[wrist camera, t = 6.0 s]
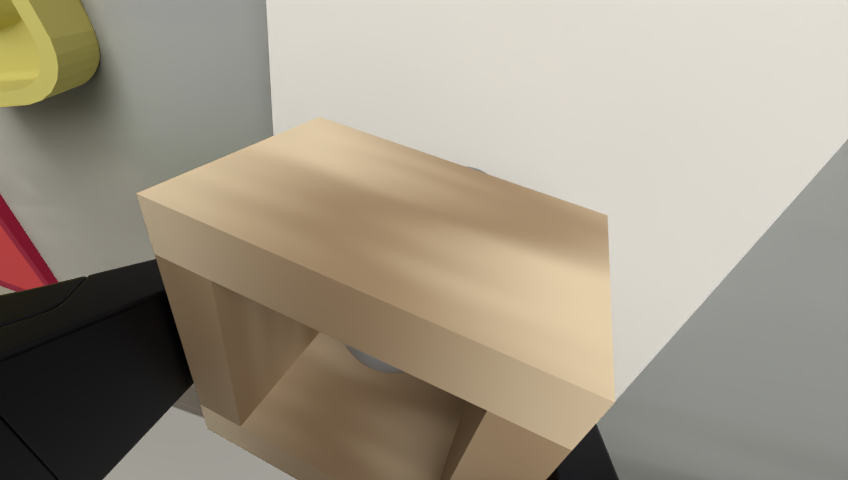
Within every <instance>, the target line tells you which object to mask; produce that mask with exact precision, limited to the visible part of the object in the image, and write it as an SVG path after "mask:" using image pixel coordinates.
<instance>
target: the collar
mask: <svg viewBox="0 0 848 480" xmlns="http://www.w3.org/2000/svg"><path fill="white" fill-rule="evenodd" d="M136 194H137V198H138V201H139V204H140V208H141V211H142V214H143V217H144V221H145V224H146V227H147V231H148V234H149V237H150V240H151V244H152V247H153V250H154V254H155V257H156V260H157V264H158V267H159V270H160V273H161V277H162V280H163V283H164V287H165V290H166V293H167V296H168V300H169V303H170V306H171V310H172V313H173V316H174V319H175V323H176V326H177V329H178V333H179V336H180V339H181V342H182V346H183V349H184V352H185V356H186V359H187V362H188V365H189V369H190V372H191V375H192V379H193V382H194V385H195V389H196V392H197V395H198V398H199V402H200V405H201V408H202V412H203V415H204V418H205V421H206V425H207V428H208V429H209V430H211V431H213V432H214V433H216V434H218V435H220V436H221V437H223V438H225V439H227V440H229V441H230V442H232V443H234V444H236V445H237V446H239V447H241V448H243V449H244V450H246V451H248V452H250V453H251V454H253V455H255V456H257V457H258V458H260V459H262V460H264V461H266V462H267V463H269V464H271V465H273V466H275V467H276V468H278V469H280V470H282V471H283V472H285V473H287V474H288V475H290V476H292V477H294V478H295V479H297V480H546V479H547V478H548V477H549V476H550V475H551V474H552V472H553V471H554V470H555V469H556V468H557V467H558V466H559V465H560V463H561V462H562V461H563V460H564V459H565V458H566V457H567V456H568V454H569V453H570V452H571V451H572V450H573V449H574V448H575V447H576V446H577V444H578V443H579V442H580V441H581V440H582V439H583V438H584V437H585V435H586V434H587V433H588V432H589V431H590V430H591V429H592V428H593V426H594V425H595V424H596V423H597V422H598V421H599V420H600V419H601V417H602V416H603V415H604V414H605V413H606V412H607V411H608V410H609V408H610V407H611V406H612V405H613V404H614V403H615V388H614V363H613V338H612V313H611V289H610V264H609V239H608V215H605V214H602V213H599V212H596V211H594V210H591V209H588V208H585V207H582V206H579V205H576V204H573V203H570V202H567V201H564V200H561V199H558V198H556V197H553V196H550V195H547V194H544V193H541V192H538V191H535V190H532V189H529V188H526V187H523V186H520V185H517V184H515V183H512V182H509V181H506V180H503V179H500V178H497V177H494V176H491V175H488V174H485V173H482V172H479V171H477V170H474V169H471V168H468V167H465V166H462V165H459V164H456V163H453V162H450V161H447V160H444V159H441V158H439V157H436V156H433V155H430V154H427V153H424V152H421V151H418V150H415V149H412V148H409V147H406V146H403V145H401V144H398V143H395V142H392V141H389V140H386V139H383V138H380V137H377V136H374V135H371V134H368V133H365V132H363V131H360V130H357V129H354V128H351V127H348V126H345V125H342V124H339V123H336V122H333V121H330V120H327V119H325V118H322V117H318V118H315V119H313V120H311V121H308V122H306V123H303V124H301V125H299V126H296V127H294V128H291V129H289V130H287V131H284V132H282V133H279V134H277V135H275V136H272V137H270V138H268V139H265V140H263V141H260V142H258V143H256V144H253V145H251V146H248V147H246V148H244V149H241V150H239V151H236V152H234V153H232V154H229V155H227V156H225V157H222V158H220V159H217V160H215V161H213V162H210V163H208V164H205V165H203V166H201V167H198V168H196V169H193V170H191V171H189V172H186V173H184V174H182V175H179V176H177V177H174V178H172V179H170V180H167V181H165V182H162V183H160V184H158V185H155V186H153V187H151V188H148V189H146V190H143V191H141V192H139V193H136ZM344 343H345V344H347V345H349V346H351V347H353V348H355V349H357V350H360V351H362V352H364V353H366V354H368V355H370V356H372V357H374V358H376V359H379V360H381V361H383V362H385V363H387V364H389V365H391V366H393V367H396V368H398V369H400V370H402V371H404V373H384V372H380V371H377V370H374V369H371V368H369V367H367V366H365V365H364V364H362V363H361V362H359V361H358V360H357V359H356V358H355V357H354V356H353V355H352V354H351V353H350V352H349V350H348V349H347V348H346V346H345V344H344Z"/></svg>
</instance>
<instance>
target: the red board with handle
mask: <svg viewBox="0 0 848 480" xmlns="http://www.w3.org/2000/svg"><path fill="white" fill-rule="evenodd" d="M54 283H58V281H57V280H56V278H55V276H54V275H53V273H52V272H51V270H50V269H49V267H48V266H47V264H46V263H45V261H44V260H43V258H42V257H41V255H40V254H39V252H38V251H37V249H36V248H35V246H34V245H33V243H32V242H31V240H30V239H29V237H28V236H27V234H26V232H25V231H24V229H23V228H22V226H21V225H20V223H19V222H18V220H17V219H16V217H15V216H14V214H13V213H12V211H11V210H10V208H9V207H8V205H7V204H6V202H5V201H4V199H3V198H2V196H1V195H0V286H3V287H5V288H8V289H11V290H14V291H16V292H19V291H24V290H28V289H32V288H37V287H41V286H45V285H50V284H54Z"/></svg>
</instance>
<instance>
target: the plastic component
mask: <svg viewBox="0 0 848 480" xmlns="http://www.w3.org/2000/svg"><path fill="white" fill-rule="evenodd" d="M99 60H100V51H99V45H98V41H97V37H96V34H95V31H94V29H93V26H92V24H91V22H90V20H89V18H88V15H87V13H86V11H85V9H84V7H83V5H82V3H81V1H80V0H0V107H8V106H21V105H30V104H33V103H36V102H39V101H42V100H44V99H47V98H49V97H52V96H54V95H57V94H60V93H62V92H65V91H67V90H70V89H73V88H75V87H78V86H80V85H83V84H84V83H86V82H87V81H88V80H89V79H90V78H91V77H92V76H93V75H94V73H95V72H96V69H97V67H98V65H99Z"/></svg>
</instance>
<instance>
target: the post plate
mask: <svg viewBox="0 0 848 480" xmlns="http://www.w3.org/2000/svg"><path fill="white" fill-rule="evenodd" d="M266 6H267V24H268V43H269V61H270V80H271V99H272V117H273V136H275V135H277V134H279V133H282V132H284V131H287V130H289V129H291V128H294V127H296V126H299V125H301V124H303V123H306V122H308V121H311V120H313V119H315V118H318V117H322V118H325V119H327V120H330V121H333V122H336V123H339V124H342V125H345V126H348V127H351V128H354V129H357V130H360V131H363V132H365V133H368V134H371V135H374V136H377V137H380V138H383V139H386V140H389V141H392V142H395V143H398V144H401V145H403V146H406V147H409V148H412V149H415V150H418V151H421V152H424V153H427V154H430V155H433V156H436V157H439V158H441V159H444V160H447V161H450V162H453V163H456V164H459V165H462V166H465V167H468V168H471V169H474V170H477V171H479V172H482V173H485V174H488V175H491V176H494V177H497V178H500V179H503V180H506V181H509V182H512V183H515V184H517V185H520V186H523V187H526V188H529V189H532V190H535V191H538V192H541V193H544V194H547V195H550V196H553V197H556V198H558V199H561V200H564V201H567V202H570V203H573V204H576V205H579V206H582V207H585V208H588V209H591V210H594V211H596V212H599V213H602V214H605V215H608V239H609V264H610V289H611V313H612V338H613V363H614V388H615V401H616V400H617V399H618V397H619V396H620V395H621V394H622V393H623V392H624V391H625V390H626V388H627V387H628V386H629V385H630V384H631V383H632V382H633V381H634V379H635V378H636V377H637V376H638V375H639V374H640V373H641V371H642V370H643V369H644V368H645V367H646V366H647V365H648V364H649V362H650V361H651V360H652V359H653V358H654V357H655V356H656V355H657V353H658V352H659V351H660V350H661V349H662V348H663V347H664V346H665V344H666V343H667V342H668V341H669V340H670V339H671V338H672V337H673V335H674V334H675V333H676V332H677V331H678V330H679V329H680V328H681V326H682V325H683V324H684V323H685V322H686V321H687V320H688V318H689V317H690V316H691V315H692V314H693V313H694V312H695V311H696V309H697V308H698V307H699V306H700V305H701V304H702V303H703V302H704V300H705V299H706V298H707V297H708V296H709V295H710V294H711V293H712V291H713V290H714V289H715V288H716V287H717V286H718V285H719V284H720V282H721V281H722V280H723V279H724V278H725V277H726V276H727V275H728V273H729V272H730V271H731V270H732V269H733V268H734V267H735V266H736V264H737V263H738V262H739V261H740V260H741V259H742V258H743V256H744V255H745V254H746V253H747V252H748V251H749V250H750V249H751V247H752V246H753V245H754V244H755V243H756V242H757V241H758V240H759V238H760V237H761V236H762V235H763V234H764V233H765V232H766V231H767V229H768V228H769V227H770V226H771V225H772V224H773V223H774V222H775V220H776V219H777V218H778V217H779V216H780V215H781V214H782V213H783V211H784V210H785V209H786V208H787V207H788V206H789V205H790V203H791V202H792V201H793V200H794V199H795V198H796V197H797V196H798V194H799V193H800V192H801V191H802V190H803V189H804V188H805V187H806V185H807V184H808V183H809V182H810V181H811V180H812V179H813V178H814V176H815V175H816V174H817V173H818V172H819V171H820V170H821V169H822V167H823V166H824V165H825V164H826V163H827V162H828V161H829V160H830V158H831V157H832V156H833V155H834V154H835V153H836V152H837V151H838V149H839V148H840V147H841V146H842V145H843V144H844V143H845V141H846V140H847V139H848V0H266ZM344 344H345V343H344ZM345 346H346V348H347V349H348V350H349V352H350V353H351V354H352V355H353V356H354V357H355V358H356V359H357V360H358V361H359V362H361V363H362V364H364V365H365V366H367V367H369V368H371V369H374V370H377V371H380V372H384V373H404V371H402V370H400V369H398V368H396V367H393V366H391V365H389V364H387V363H385V362H383V361H381V360H379V359H376V358H374V357H372V356H370V355H368V354H366V353H364V352H362V351H360V350H357V349H355V348H353V347H351V346H349V345H347V344H345Z"/></svg>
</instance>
